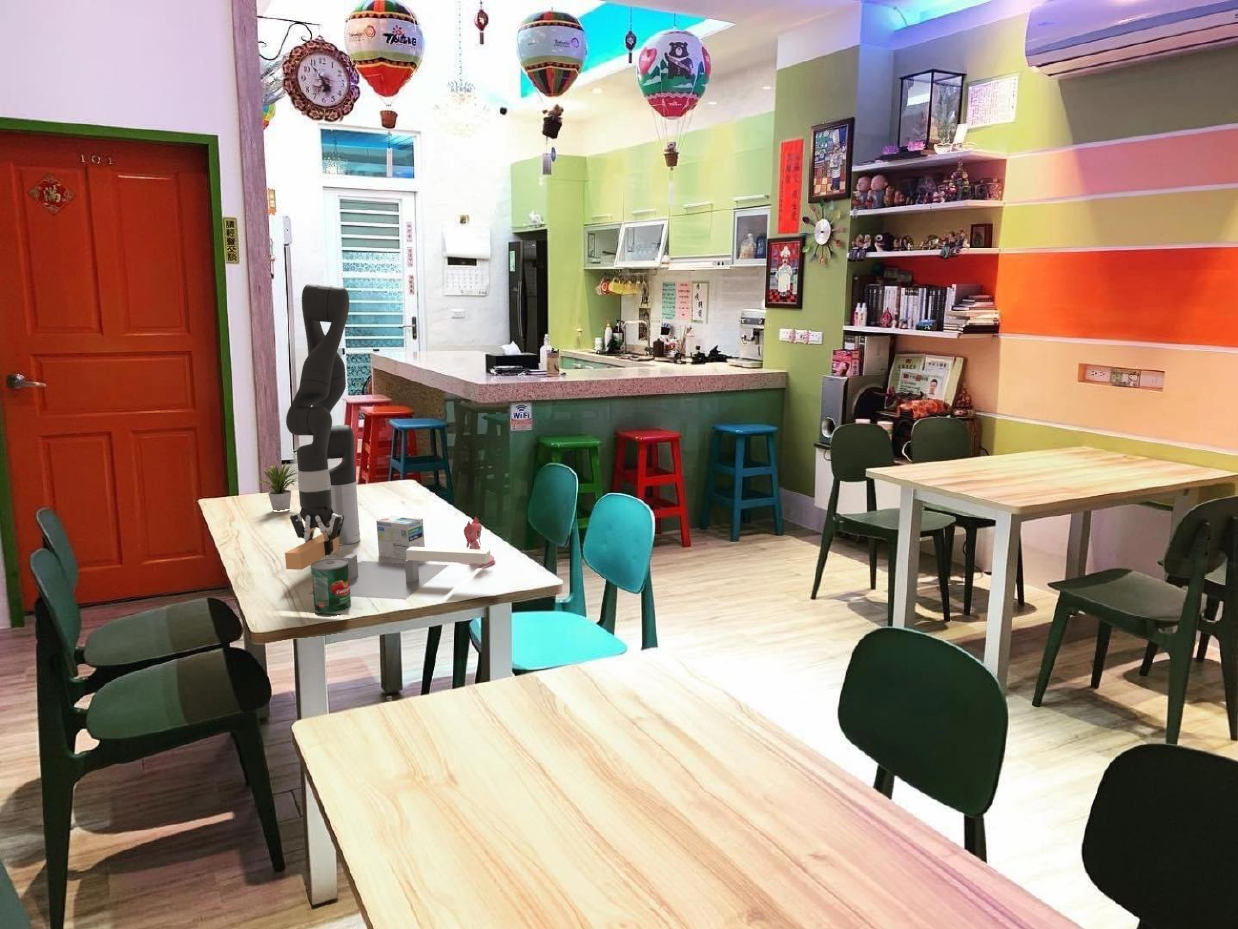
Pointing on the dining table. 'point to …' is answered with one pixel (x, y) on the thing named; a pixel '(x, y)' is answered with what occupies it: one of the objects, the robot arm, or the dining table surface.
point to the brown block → (308, 553)
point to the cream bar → (448, 555)
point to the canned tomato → (330, 586)
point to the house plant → (279, 487)
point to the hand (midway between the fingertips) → (320, 554)
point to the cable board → (388, 577)
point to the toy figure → (471, 535)
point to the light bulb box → (399, 535)
